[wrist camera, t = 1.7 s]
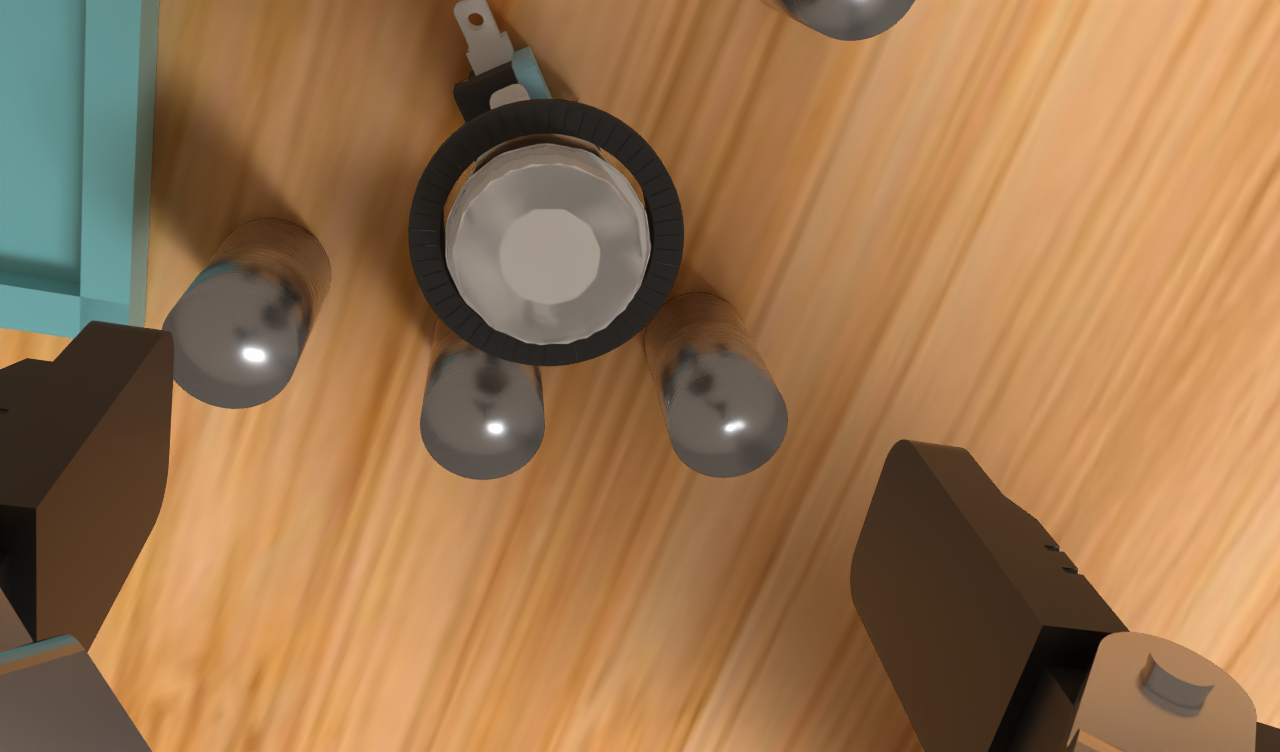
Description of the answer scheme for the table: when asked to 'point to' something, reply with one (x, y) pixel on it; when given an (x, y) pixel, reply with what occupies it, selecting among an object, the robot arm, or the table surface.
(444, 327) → the standoff cluster
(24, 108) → the tray
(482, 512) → the table surface
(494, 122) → the push button
